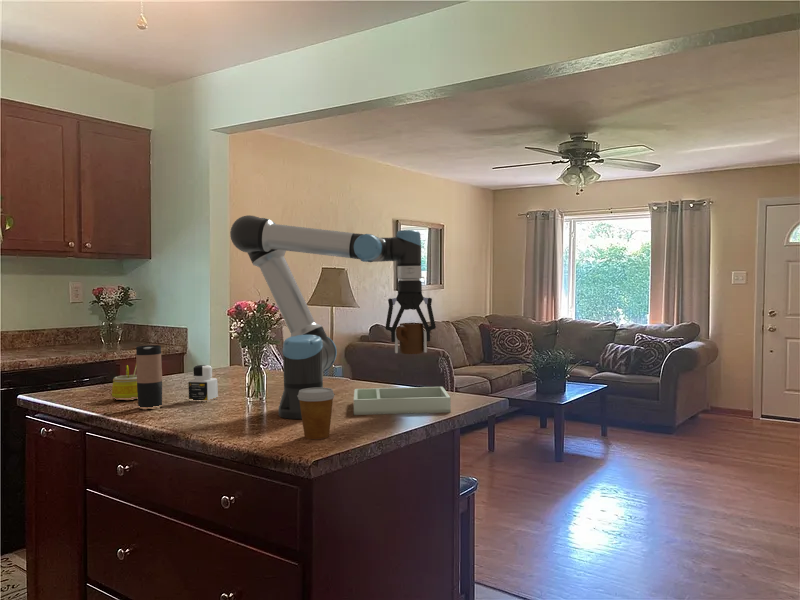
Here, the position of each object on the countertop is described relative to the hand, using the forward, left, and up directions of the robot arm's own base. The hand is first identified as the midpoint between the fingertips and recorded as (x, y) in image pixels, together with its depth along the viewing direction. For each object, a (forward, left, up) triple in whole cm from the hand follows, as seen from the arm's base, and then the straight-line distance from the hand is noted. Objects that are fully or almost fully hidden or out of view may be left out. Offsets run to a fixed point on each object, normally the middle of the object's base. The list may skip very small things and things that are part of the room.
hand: (410, 352), depth 204 cm
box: (-4, 0, -17) cm, 18 cm away
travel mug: (-84, +10, -17) cm, 86 cm away
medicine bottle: (-70, +22, -18) cm, 75 cm away
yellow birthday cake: (-97, +29, -18) cm, 103 cm away
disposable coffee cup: (-27, -36, -18) cm, 48 cm away
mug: (-1, 0, -1) cm, 1 cm away
